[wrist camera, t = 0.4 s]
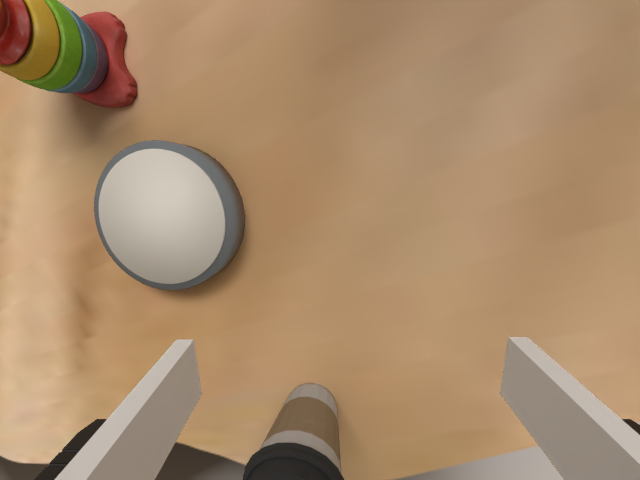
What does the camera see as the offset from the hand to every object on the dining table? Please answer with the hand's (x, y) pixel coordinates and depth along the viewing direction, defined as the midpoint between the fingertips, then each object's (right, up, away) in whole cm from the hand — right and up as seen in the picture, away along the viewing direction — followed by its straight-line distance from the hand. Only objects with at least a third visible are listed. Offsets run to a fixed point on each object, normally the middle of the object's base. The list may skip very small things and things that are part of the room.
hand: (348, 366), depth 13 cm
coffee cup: (-2, -19, +32) cm, 37 cm away
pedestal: (-21, +9, +29) cm, 36 cm away
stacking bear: (-30, +28, +27) cm, 49 cm away
